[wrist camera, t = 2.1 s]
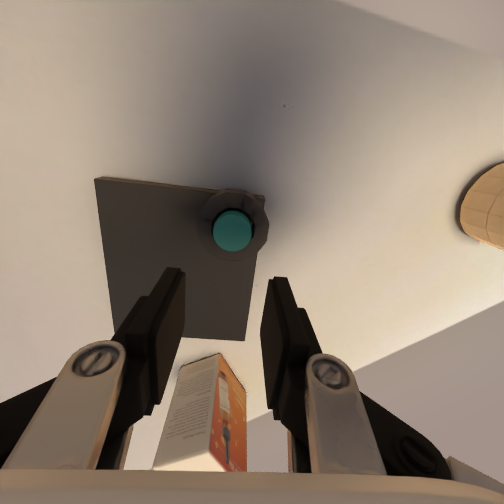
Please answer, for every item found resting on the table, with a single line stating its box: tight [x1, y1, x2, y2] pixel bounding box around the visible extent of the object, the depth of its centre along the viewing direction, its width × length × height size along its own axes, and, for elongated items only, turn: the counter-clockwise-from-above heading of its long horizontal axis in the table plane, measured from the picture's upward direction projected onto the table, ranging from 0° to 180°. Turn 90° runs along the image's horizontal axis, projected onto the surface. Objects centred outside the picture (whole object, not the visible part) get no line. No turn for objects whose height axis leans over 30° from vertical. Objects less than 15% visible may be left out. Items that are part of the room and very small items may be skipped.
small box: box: [152, 354, 247, 472], centre depth 26 cm, size 8×6×10 cm
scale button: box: [213, 210, 252, 251], centre depth 19 cm, size 3×3×2 cm
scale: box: [94, 177, 269, 341], centre depth 23 cm, size 16×14×3 cm
